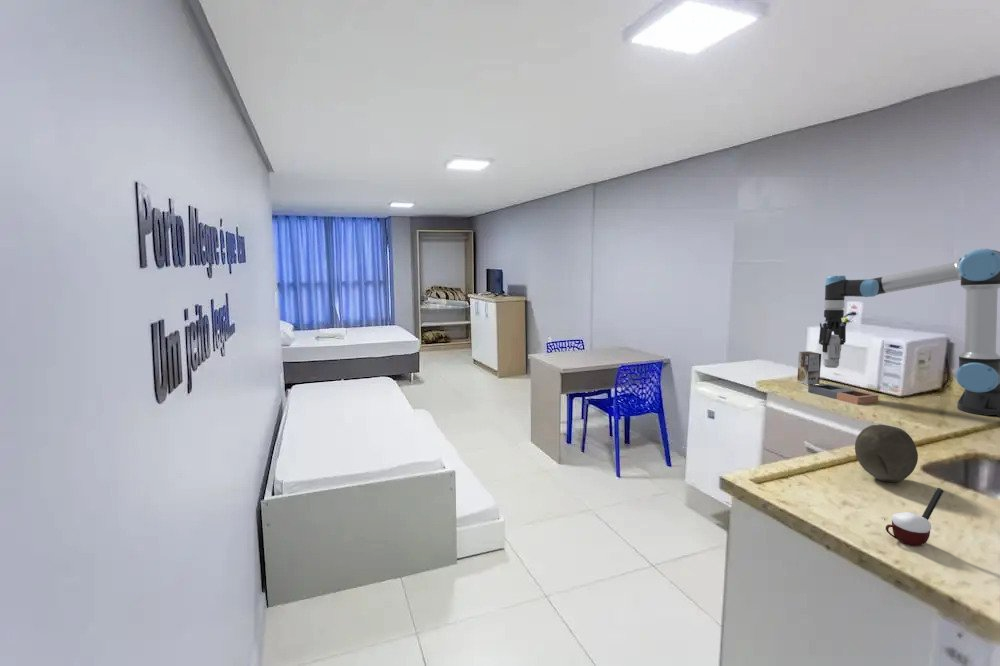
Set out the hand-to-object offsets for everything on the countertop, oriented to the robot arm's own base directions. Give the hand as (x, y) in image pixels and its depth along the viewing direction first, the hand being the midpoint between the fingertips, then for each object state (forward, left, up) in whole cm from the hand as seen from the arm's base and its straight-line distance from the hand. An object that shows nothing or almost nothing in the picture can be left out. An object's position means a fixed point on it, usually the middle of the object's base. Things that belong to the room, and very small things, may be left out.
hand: (831, 358), depth 227 cm
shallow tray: (0, +6, -17) cm, 18 cm away
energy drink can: (0, 0, -4) cm, 4 cm away
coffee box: (-10, -20, -17) cm, 28 cm away
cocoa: (+101, +102, -17) cm, 145 cm away
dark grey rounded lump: (+74, +77, -17) cm, 108 cm away
